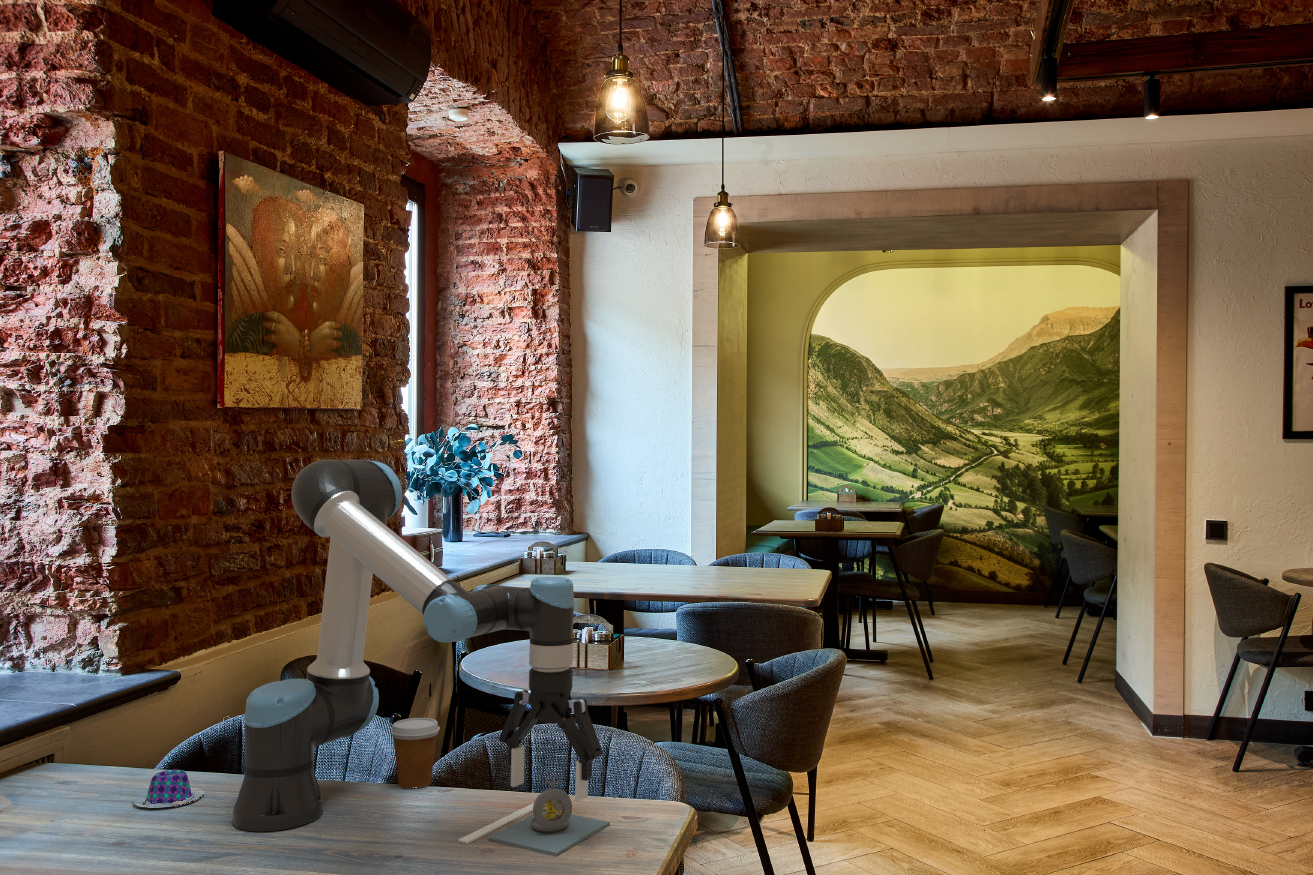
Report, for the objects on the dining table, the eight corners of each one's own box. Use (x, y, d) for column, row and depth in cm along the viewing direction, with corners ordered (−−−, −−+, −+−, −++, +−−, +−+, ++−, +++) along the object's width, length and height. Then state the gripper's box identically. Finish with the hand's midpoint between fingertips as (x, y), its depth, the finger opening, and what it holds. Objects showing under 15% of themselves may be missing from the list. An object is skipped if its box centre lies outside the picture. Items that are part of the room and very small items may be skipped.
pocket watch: (551, 817, 170) (551, 760, 170) (583, 828, 164) (584, 769, 164) (515, 829, 163) (515, 770, 164) (548, 842, 158) (548, 780, 158)
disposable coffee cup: (426, 793, 184) (427, 730, 185) (381, 789, 186) (382, 727, 187) (447, 778, 194) (447, 718, 194) (403, 775, 195) (404, 716, 196)
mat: (488, 839, 160) (488, 836, 160) (545, 811, 174) (545, 808, 174) (556, 856, 153) (556, 852, 153) (609, 824, 167) (609, 821, 167)
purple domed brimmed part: (214, 790, 187) (214, 763, 187) (187, 811, 175) (187, 782, 175) (151, 791, 186) (152, 764, 187) (120, 813, 174) (121, 783, 175)
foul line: (458, 841, 160) (458, 839, 160) (537, 802, 179) (537, 801, 179) (467, 843, 159) (467, 841, 159) (545, 804, 178) (545, 802, 178)
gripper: (623, 671, 162) (621, 798, 161) (507, 656, 174) (505, 773, 174) (599, 679, 156) (597, 811, 155) (480, 662, 168) (478, 784, 167)
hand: (548, 791), depth 164 cm, fingers open, 13 cm apart
